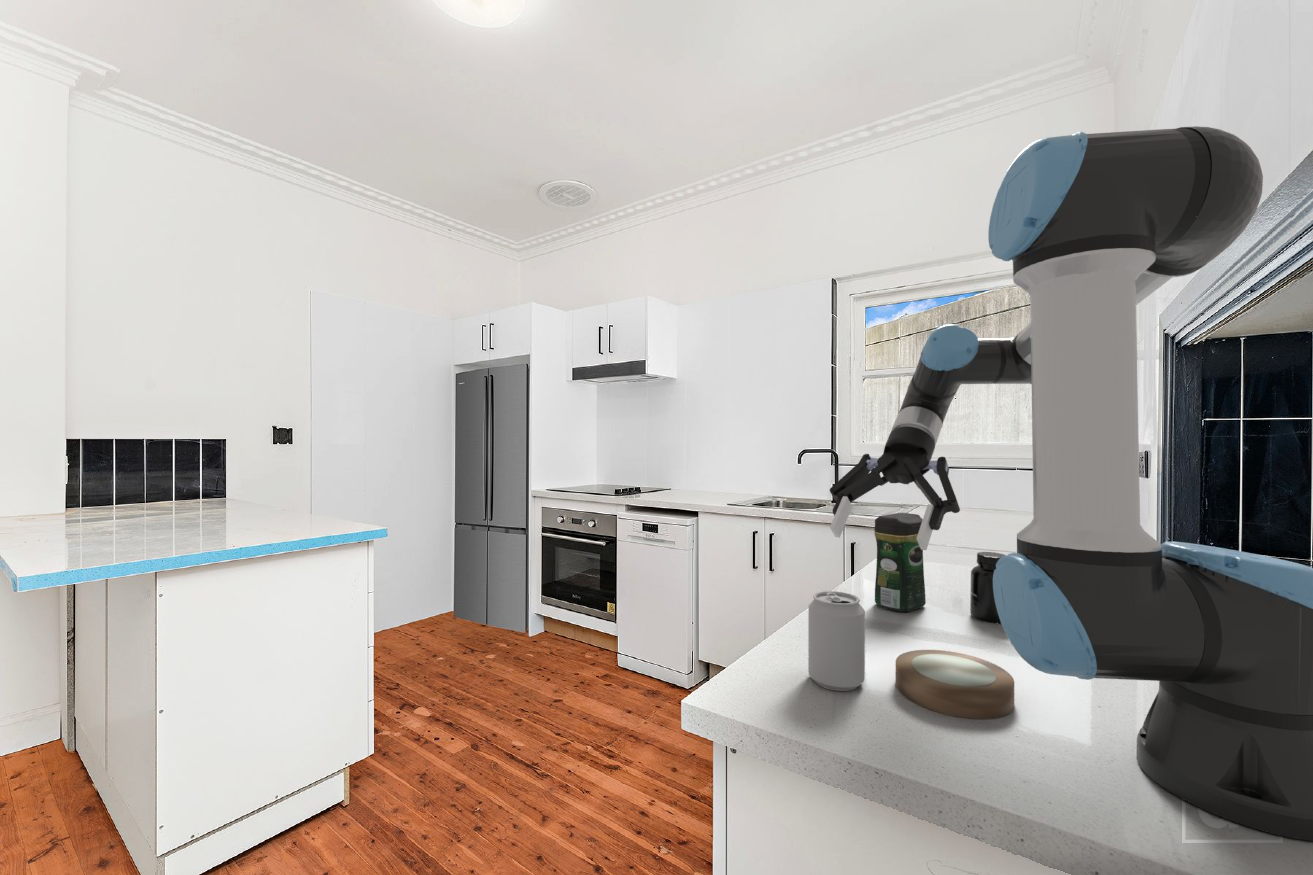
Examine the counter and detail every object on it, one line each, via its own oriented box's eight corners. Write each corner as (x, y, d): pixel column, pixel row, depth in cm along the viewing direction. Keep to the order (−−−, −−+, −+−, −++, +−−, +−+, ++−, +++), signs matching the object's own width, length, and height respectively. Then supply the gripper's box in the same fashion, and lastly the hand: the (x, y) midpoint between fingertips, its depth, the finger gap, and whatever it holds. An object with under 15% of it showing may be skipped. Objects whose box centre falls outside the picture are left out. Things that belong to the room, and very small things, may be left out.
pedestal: (1041, 715, 69) (1041, 689, 69) (934, 722, 68) (934, 696, 68) (966, 667, 83) (966, 646, 83) (876, 672, 82) (876, 650, 82)
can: (827, 696, 74) (827, 606, 74) (798, 673, 81) (798, 590, 81) (876, 689, 76) (876, 601, 76) (843, 667, 83) (843, 586, 83)
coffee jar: (895, 597, 119) (896, 509, 118) (932, 606, 112) (932, 513, 112) (866, 605, 113) (867, 512, 113) (902, 615, 107) (903, 517, 106)
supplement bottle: (961, 615, 107) (962, 552, 107) (985, 610, 110) (986, 548, 109) (997, 626, 101) (997, 559, 100) (1021, 621, 103) (1021, 556, 103)
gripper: (998, 456, 91) (969, 565, 81) (850, 451, 109) (811, 540, 98) (989, 424, 87) (957, 534, 77) (838, 424, 105) (795, 514, 94)
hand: (875, 538), depth 88 cm, fingers open, 13 cm apart
